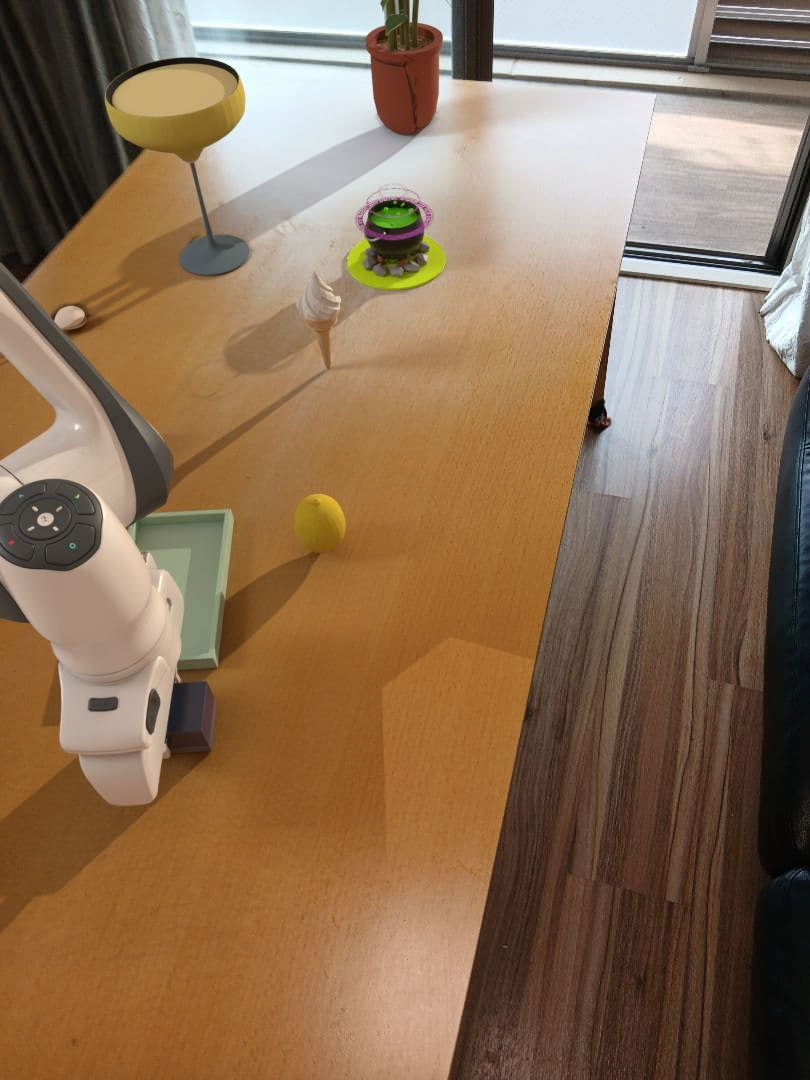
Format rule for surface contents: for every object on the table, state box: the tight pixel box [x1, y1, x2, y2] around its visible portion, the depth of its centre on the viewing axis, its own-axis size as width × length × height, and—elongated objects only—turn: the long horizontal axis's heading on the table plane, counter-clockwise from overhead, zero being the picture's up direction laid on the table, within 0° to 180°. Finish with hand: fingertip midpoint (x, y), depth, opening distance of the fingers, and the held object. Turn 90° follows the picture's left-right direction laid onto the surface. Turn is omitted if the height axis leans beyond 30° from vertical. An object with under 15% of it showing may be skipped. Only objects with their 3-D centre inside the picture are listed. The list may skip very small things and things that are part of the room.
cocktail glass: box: [104, 56, 250, 277], centre depth 116 cm, size 18×18×25 cm
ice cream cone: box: [295, 270, 342, 370], centre depth 103 cm, size 6×6×15 cm
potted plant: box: [364, 0, 452, 136], centre depth 134 cm, size 17×16×35 cm
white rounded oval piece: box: [53, 305, 87, 331], centre depth 115 cm, size 4×5×2 cm
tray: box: [127, 508, 235, 671], centre depth 87 cm, size 11×19×2 cm, turn 2°
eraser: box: [166, 680, 218, 755], centre depth 76 cm, size 8×5×4 cm, turn 92°
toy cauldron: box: [346, 183, 447, 291], centre depth 119 cm, size 15×15×11 cm
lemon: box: [293, 493, 347, 554], centre depth 87 cm, size 6×6×8 cm
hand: (167, 719), depth 76 cm, fingers closed on eraser, 5 cm apart
